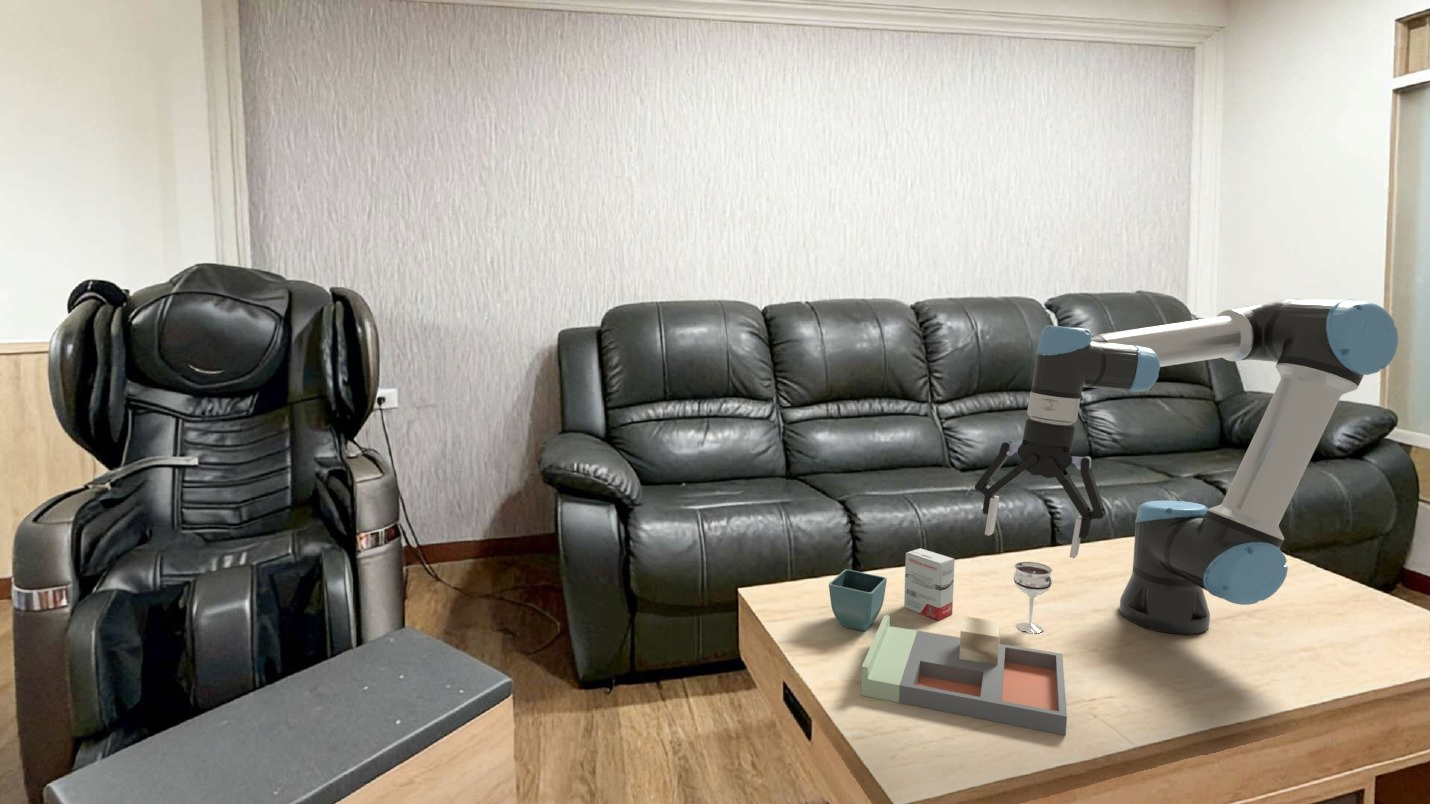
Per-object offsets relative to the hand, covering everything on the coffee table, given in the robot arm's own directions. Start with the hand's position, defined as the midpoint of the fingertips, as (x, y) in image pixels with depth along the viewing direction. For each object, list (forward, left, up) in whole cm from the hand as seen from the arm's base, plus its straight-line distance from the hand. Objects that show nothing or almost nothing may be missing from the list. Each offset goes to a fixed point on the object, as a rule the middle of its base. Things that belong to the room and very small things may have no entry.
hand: (1030, 544), depth 127 cm
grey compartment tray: (+9, +9, -22) cm, 25 cm away
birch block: (+7, +4, -19) cm, 21 cm away
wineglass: (-1, -16, -22) cm, 27 cm away
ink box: (+18, -17, -22) cm, 33 cm away
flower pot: (+30, -6, -22) cm, 38 cm away
